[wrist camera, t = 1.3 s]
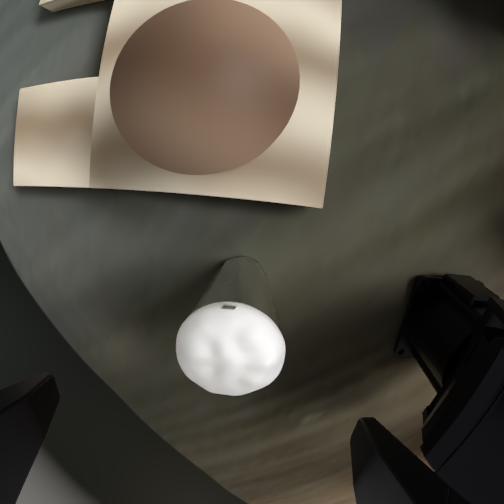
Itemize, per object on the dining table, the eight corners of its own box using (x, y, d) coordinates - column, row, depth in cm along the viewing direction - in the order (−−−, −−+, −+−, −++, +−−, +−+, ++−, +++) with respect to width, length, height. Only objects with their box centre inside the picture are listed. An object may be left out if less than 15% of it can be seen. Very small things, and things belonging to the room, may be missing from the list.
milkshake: (281, 235, 20) (299, 313, 10) (273, 314, 21) (280, 426, 12) (207, 229, 20) (158, 301, 10) (205, 308, 21) (168, 415, 12)
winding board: (316, 202, 19) (322, 208, 17) (30, 182, 19) (13, 185, 17) (336, -28, 14) (342, -42, 12) (61, -16, 14) (48, -25, 12)
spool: (279, 174, 17) (288, 184, 11) (150, 164, 17) (102, 170, 11) (293, 49, 15) (306, 5, 9) (164, 43, 15) (125, 3, 9)
